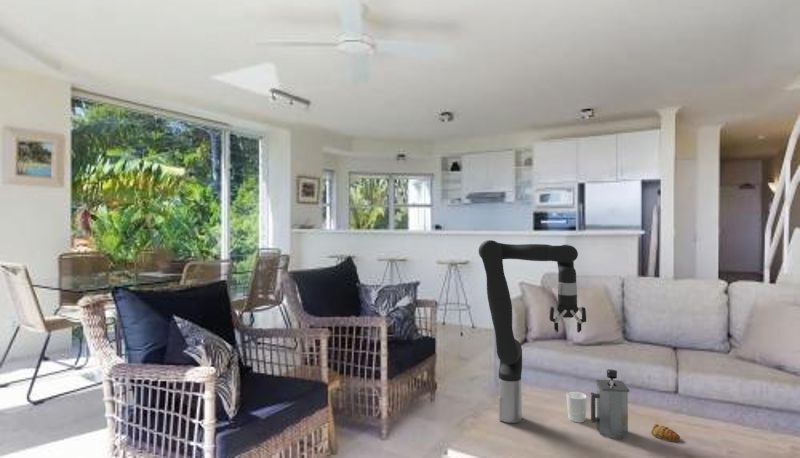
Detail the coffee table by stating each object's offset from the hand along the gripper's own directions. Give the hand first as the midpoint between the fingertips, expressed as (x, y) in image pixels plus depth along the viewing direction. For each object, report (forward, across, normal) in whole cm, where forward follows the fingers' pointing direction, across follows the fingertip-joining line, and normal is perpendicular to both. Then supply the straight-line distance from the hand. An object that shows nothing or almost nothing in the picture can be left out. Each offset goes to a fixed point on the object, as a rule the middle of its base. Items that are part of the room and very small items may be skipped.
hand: (567, 331), depth 195 cm
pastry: (+37, +32, -13) cm, 51 cm away
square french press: (+36, +13, -12) cm, 40 cm away
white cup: (+36, +3, -1) cm, 36 cm away
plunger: (+27, +14, -12) cm, 33 cm away
